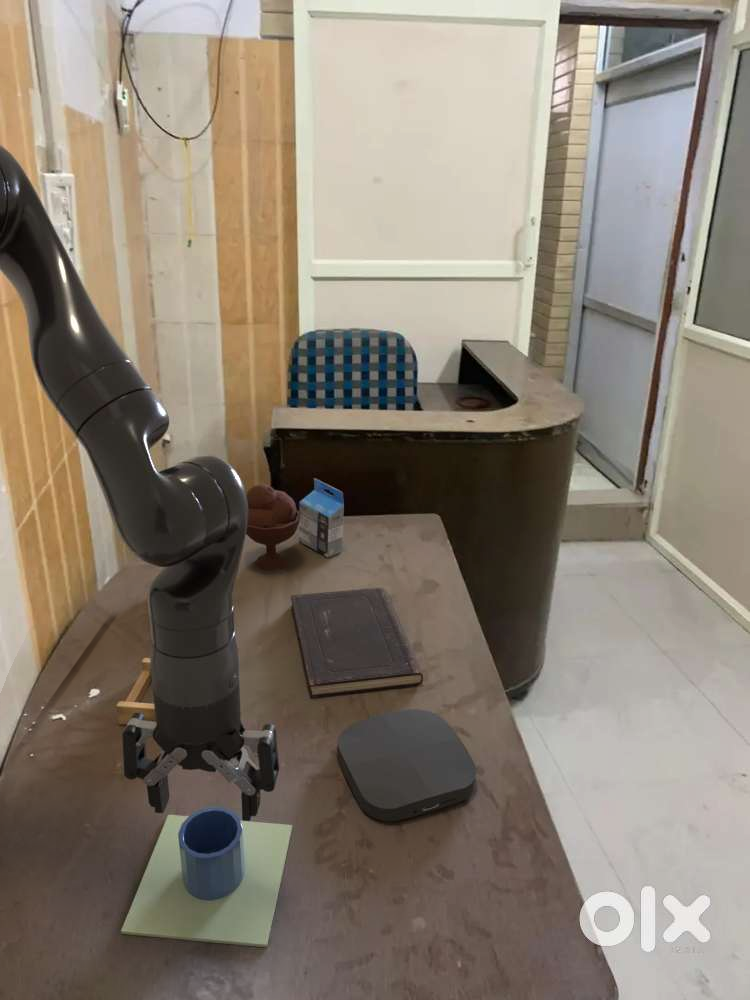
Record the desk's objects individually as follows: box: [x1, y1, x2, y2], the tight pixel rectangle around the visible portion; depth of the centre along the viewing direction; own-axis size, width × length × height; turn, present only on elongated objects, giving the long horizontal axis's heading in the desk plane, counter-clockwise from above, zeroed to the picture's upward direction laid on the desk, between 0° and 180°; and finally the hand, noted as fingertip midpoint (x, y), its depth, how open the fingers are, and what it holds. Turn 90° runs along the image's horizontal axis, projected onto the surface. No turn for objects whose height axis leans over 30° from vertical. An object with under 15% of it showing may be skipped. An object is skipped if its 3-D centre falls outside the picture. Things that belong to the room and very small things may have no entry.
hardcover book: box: [290, 587, 424, 699], centre depth 115 cm, size 16×23×2 cm
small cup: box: [178, 806, 245, 900], centre depth 77 cm, size 6×6×6 cm
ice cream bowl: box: [246, 483, 301, 571], centre depth 134 cm, size 11×11×15 cm
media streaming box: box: [336, 708, 477, 822], centre depth 92 cm, size 15×15×3 cm
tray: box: [115, 657, 156, 726], centre depth 102 cm, size 12×10×3 cm
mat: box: [120, 814, 293, 948], centre depth 78 cm, size 14×14×1 cm
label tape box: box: [298, 477, 345, 558], centre depth 141 cm, size 9×4×12 cm, turn 43°
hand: (205, 810), depth 74 cm, fingers open, 8 cm apart
